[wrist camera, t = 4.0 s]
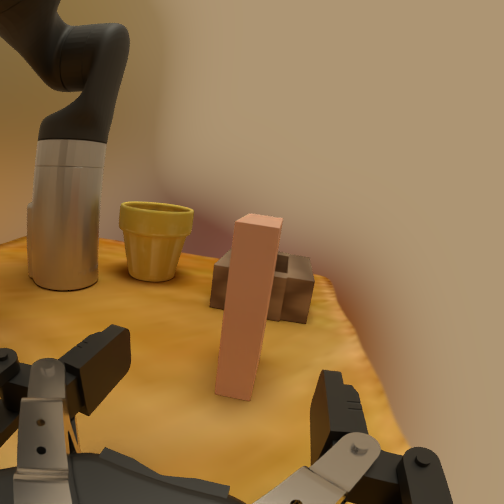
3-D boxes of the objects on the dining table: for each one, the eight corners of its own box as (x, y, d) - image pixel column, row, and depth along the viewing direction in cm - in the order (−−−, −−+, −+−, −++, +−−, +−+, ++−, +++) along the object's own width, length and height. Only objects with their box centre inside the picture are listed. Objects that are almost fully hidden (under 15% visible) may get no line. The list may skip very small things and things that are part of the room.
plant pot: (201, 275, 46) (208, 209, 44) (157, 293, 36) (162, 212, 34) (148, 260, 49) (153, 200, 47) (102, 272, 40) (104, 202, 38)
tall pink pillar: (214, 393, 20) (235, 221, 17) (230, 353, 26) (249, 213, 23) (249, 401, 20) (279, 228, 17) (259, 358, 26) (283, 218, 23)
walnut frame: (208, 308, 35) (213, 265, 33) (231, 276, 47) (235, 244, 46) (305, 325, 33) (314, 283, 32) (303, 289, 46) (309, 256, 45)
